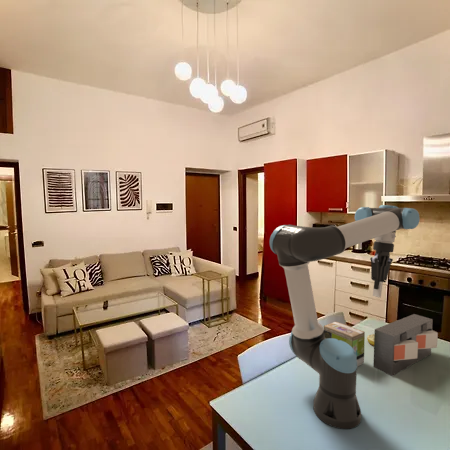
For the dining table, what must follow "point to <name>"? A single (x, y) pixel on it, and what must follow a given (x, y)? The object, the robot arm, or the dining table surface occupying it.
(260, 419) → the dining table surface
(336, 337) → the tea box
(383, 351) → the grey panel with openings
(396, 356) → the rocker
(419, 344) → the rocker
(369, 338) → the decorated donut
